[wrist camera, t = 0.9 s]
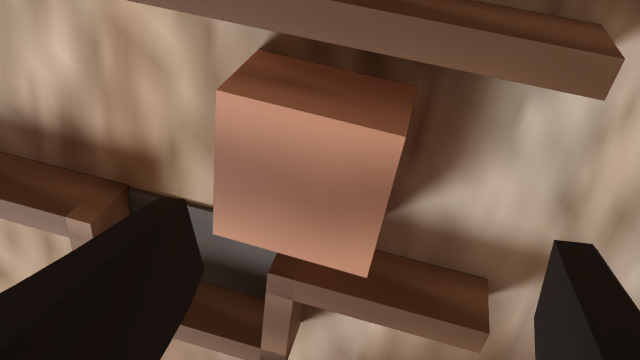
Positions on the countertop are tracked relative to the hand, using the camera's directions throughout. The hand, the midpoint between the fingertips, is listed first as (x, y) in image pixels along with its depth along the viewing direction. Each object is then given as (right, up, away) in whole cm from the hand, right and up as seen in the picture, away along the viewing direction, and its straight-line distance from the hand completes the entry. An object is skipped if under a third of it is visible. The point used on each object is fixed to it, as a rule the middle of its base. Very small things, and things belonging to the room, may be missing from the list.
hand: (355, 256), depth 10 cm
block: (0, +3, +10) cm, 11 cm away
